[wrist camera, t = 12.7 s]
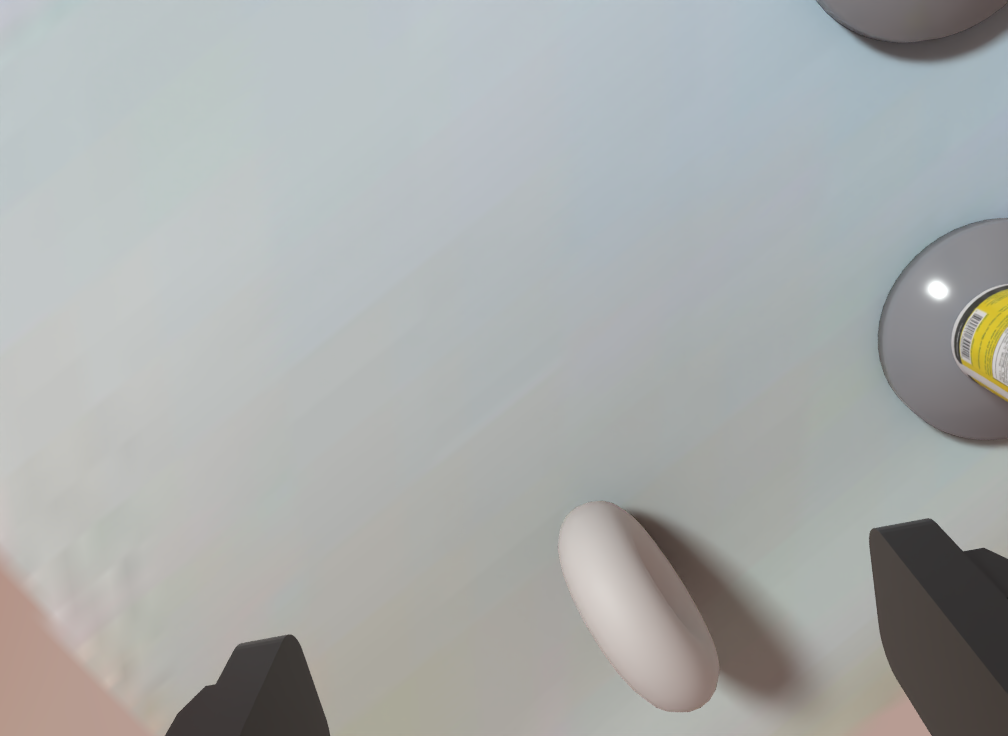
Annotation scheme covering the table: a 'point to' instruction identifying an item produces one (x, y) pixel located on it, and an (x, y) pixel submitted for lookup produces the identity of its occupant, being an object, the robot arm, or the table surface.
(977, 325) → the supplement bottle
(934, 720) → the robot arm
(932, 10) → the dish high side
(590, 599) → the donut
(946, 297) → the dish low side
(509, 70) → the table surface
